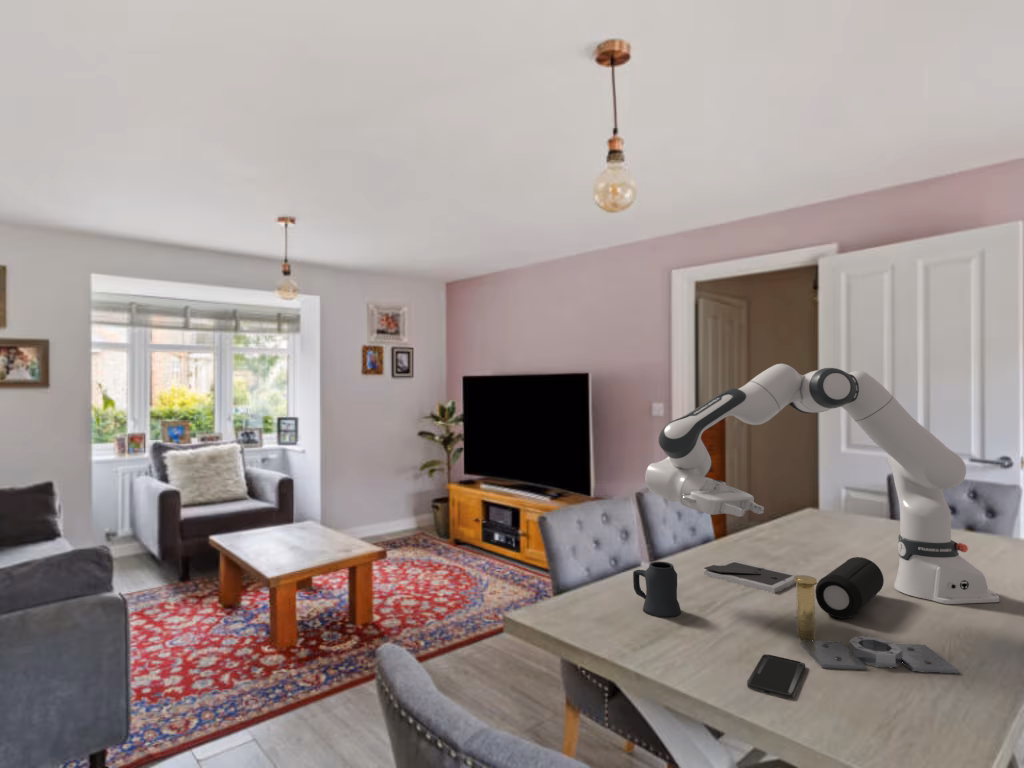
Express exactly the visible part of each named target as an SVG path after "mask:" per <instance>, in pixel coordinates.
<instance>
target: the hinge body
mask: <svg viewBox="0 0 1024 768" xmlns="http://www.w3.org/2000/svg"><path fill="white" fill-rule="evenodd" d="M801 644H802V645H801ZM800 645H801V646H802V647H803V649H805V650H806V651H807V653H808V654H809V655H810V656H811V658H813V660H814V659H815V660H814V661H815V662H816V663H817V664H818V665H819V666H821V667H822V669H833V668H836V670H837V669H838V670H842V669H843V670H857V669H861V670H863V671H866V670H867V669H866V668H867V667H866V665H868V666H870V665H871V666H870V667H873V666H874V668H878V667H897V666H898V665H899V666H900V665H902V664H903V663H904V664H905V665H904V664H903V665H904V666H906V667H907V666H908V667H909V668H910V669H911V670H912V671H911V670H910V669H909V668H908V667H907V668H908V669H909V670H910V671H911V672H913V671H924V672H923V673H928V672H940V673H939V674H951V673H955V674H956V675H957V674H959V668H957V667H956V666H954V665H953V664H952V663H951V662H949V661H947V660H946V659H945V658H944V657H942V656H941V655H939V654H938V653H937V652H935V651H934V650H932V648H930V647H928V646H927V645H926V644H917V643H916V644H915V643H914V644H913V643H894V642H892V641H889V640H885V639H883V638H880V637H875V636H854V637H853V638H850V640H848V647H847V646H846V645H845V644H844V643H843V642H842V641H833V640H813V641H812V640H801V639H800ZM902 662H903V663H902ZM864 663H865V664H864ZM901 663H902V664H901ZM899 666H898V667H899ZM821 667H820V668H821ZM898 667H897V668H898ZM955 674H954V675H955Z"/></svg>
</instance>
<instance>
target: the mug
mask: <svg viewBox="0 0 1024 768" xmlns="http://www.w3.org/2000/svg"><path fill="white" fill-rule="evenodd" d="M632 574H633V575H632V579H633V581H632V583H633V589H634V592H635V594H636V595H637V596H639V597H641V598H642V599H644V603H643V606H642V611H643V613H645V614H646V615H647V616H648V615H649V616H651V617H654V618H661V619H662V618H663V619H666V618H667V619H671V618H676V617H679V616H680V615H682V614H681V613H682V611H681V606H680V603H679V601H678V573H677V572H676V570H675V567H674V564H672V563H671V562H668V561H652V562H650V563H649V564H648V567H647V568H646V570H645V569H635V570H633V571H632ZM640 576H641V577H643V578H644V580H645V586H646V589H645V590H646V592H644V591H643V589H641V586H640V584H641V583H640Z"/></svg>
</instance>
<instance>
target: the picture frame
mask: <svg viewBox="0 0 1024 768" xmlns="http://www.w3.org/2000/svg"><path fill="white" fill-rule="evenodd" d="M705 575H707V576H706V577H708V576H710V577H709V578H712V577H714V578H713V579H716V578H717V580H720V579H721V580H720V581H724V580H725V582H728V581H729V583H732V584H735V583H737V584H736V585H739V584H741V585H740V586H743V585H744V586H743V587H747V586H748V588H751V587H752V588H751V589H755V588H756V590H759V589H760V591H762V590H764V591H763V592H766V591H768V592H767V593H770V592H772V593H771V594H774V593H775V594H777V593H779V592H781V591H783V590H785V589H787V588H789V587H791V586H790V585H792V586H794V585H796V584H795V583H796V582H794V576H797V575H798V574H795V573H791V572H786V571H783V570H778V569H773V568H768V567H765V566H760V565H756V564H753V563H748V562H747V563H746V562H742V561H738V560H734V559H732V560H729V561H725V562H723V563H721V564H717V565H715V564H713V565H710V566H709V565H708V566H706V567H704V570H703V576H705ZM793 584H794V585H793ZM788 586H789V587H788ZM786 587H787V588H786ZM784 588H785V589H784ZM782 589H783V590H782ZM780 590H781V591H780ZM778 591H779V592H778ZM776 592H777V593H776Z"/></svg>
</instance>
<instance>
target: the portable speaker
mask: <svg viewBox="0 0 1024 768" xmlns="http://www.w3.org/2000/svg"><path fill="white" fill-rule="evenodd" d="M884 582H885V580H884V574H883V572H882V570H881V568H880V567H879V565H877V563H875V562H874V561H872V560H870V559H869V558H866V557H862V556H855V557H851V558H849V559H847V560H846V561H845V562H843V563H842V564H840V565H839V566H838V567H836V568H835V569H833V570H832V571H830V572H829V573H828V574H826V575H825V576H823V577H822V578H820V579H819V581H817V584H816V586H815V589H814V594H815V599H816V602H817V603H818V606H819V607H820V609H822V611H824V612H825V613H826V614H828V615H830V616H831V617H835V618H840V619H847V618H851V617H853V616H855V615H857V614H858V613H859V612H860V610H862V609H863V608H864V607H865V606H866V605H867V604H868V603H869V602H870V601H871V600H872V599H873V598H874V597H875V596H877V594H878V593H880V591H881V590H882V588H883V586H884V584H885V583H884Z"/></svg>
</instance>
